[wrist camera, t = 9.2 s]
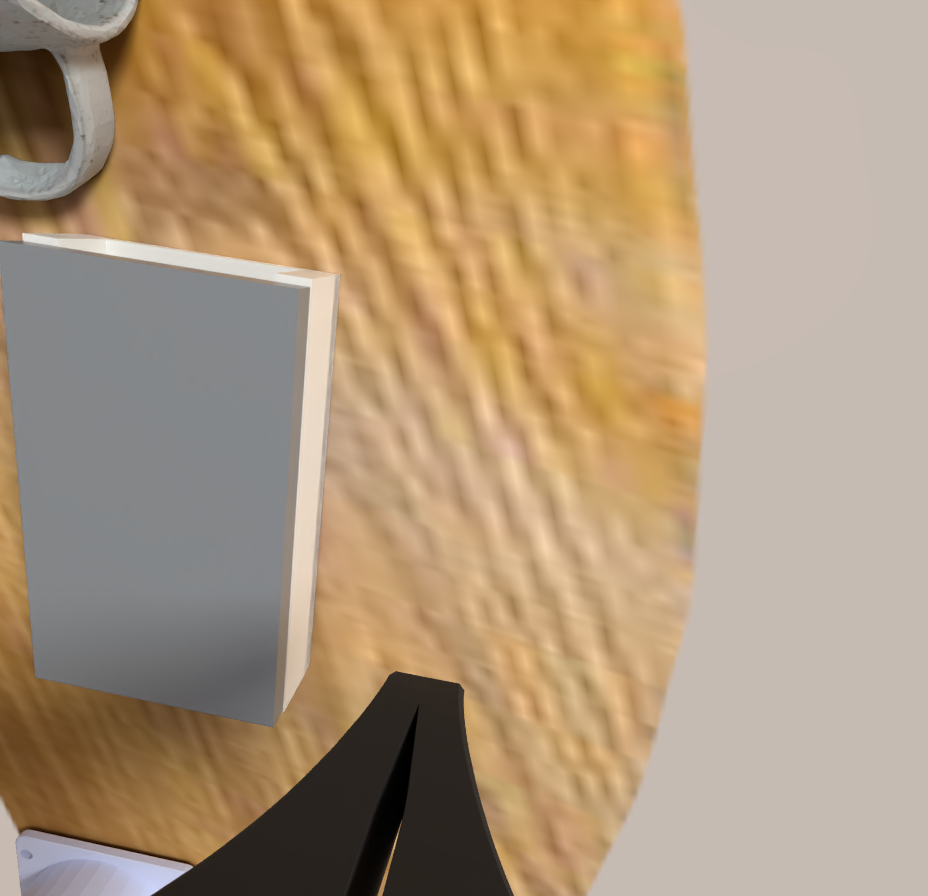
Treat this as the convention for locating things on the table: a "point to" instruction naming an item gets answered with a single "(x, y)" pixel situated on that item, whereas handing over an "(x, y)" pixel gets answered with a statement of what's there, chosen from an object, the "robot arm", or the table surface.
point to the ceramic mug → (87, 86)
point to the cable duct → (313, 409)
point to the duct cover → (156, 474)
